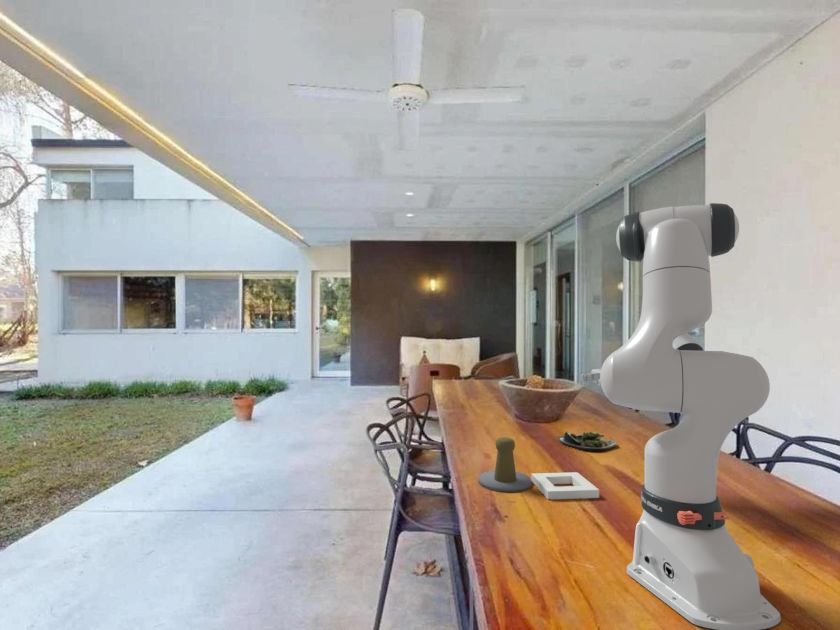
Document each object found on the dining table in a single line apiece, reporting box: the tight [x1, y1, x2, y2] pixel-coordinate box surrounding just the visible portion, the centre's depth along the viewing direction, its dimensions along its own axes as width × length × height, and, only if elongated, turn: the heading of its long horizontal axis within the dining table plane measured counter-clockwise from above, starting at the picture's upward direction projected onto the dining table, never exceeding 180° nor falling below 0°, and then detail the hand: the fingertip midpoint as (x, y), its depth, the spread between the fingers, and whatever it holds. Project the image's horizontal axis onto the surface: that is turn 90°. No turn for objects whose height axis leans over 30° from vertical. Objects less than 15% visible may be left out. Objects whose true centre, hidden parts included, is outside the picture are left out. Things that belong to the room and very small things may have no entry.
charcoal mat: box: [478, 469, 532, 493], centre depth 126 cm, size 14×14×1 cm
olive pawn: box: [494, 436, 517, 483], centre depth 126 cm, size 6×6×11 cm
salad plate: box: [555, 430, 617, 453], centre depth 164 cm, size 19×18×5 cm
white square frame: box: [530, 471, 600, 500], centre depth 121 cm, size 13×13×2 cm
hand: (589, 379), depth 124 cm, fingers open, 8 cm apart
